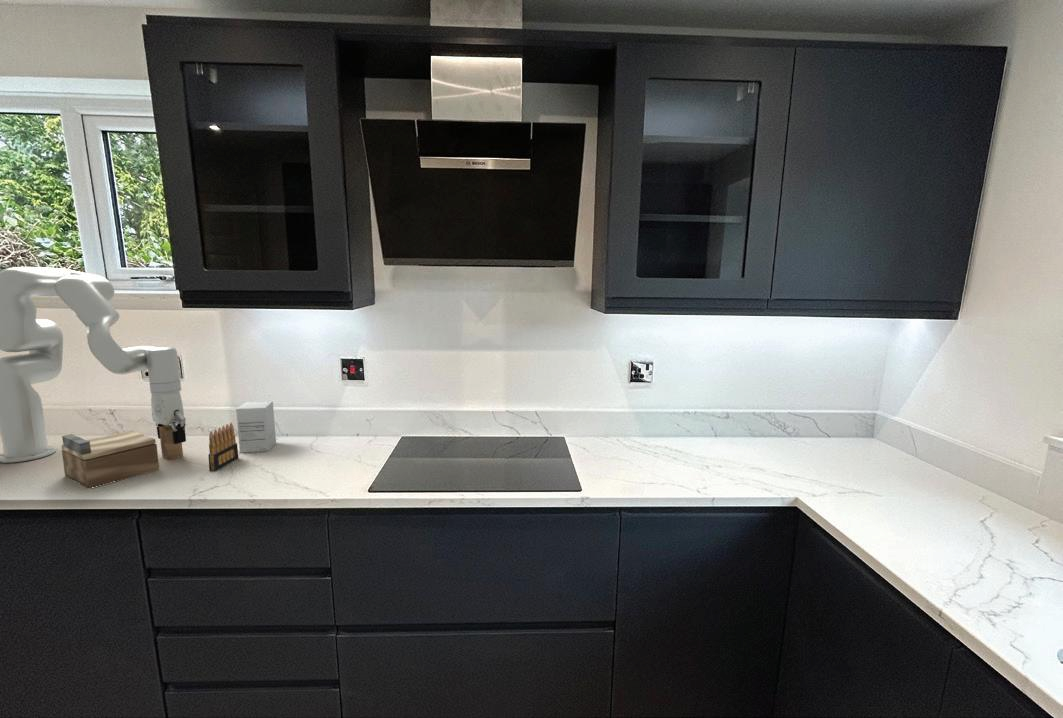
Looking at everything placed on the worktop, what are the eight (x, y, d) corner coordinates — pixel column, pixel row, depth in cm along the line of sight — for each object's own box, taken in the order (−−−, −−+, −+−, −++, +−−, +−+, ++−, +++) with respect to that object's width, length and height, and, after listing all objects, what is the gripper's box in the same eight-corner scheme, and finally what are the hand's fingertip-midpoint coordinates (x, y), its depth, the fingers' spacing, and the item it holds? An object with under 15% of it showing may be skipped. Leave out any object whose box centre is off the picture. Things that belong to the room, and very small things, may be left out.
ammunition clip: (233, 458, 149) (230, 421, 147) (238, 458, 149) (235, 421, 147) (209, 471, 139) (205, 432, 137) (215, 471, 139) (211, 432, 137)
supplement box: (247, 444, 162) (244, 401, 160) (276, 442, 164) (273, 400, 162) (238, 453, 153) (235, 408, 151) (269, 451, 156) (265, 407, 153)
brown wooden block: (162, 457, 148) (159, 427, 147) (176, 453, 152) (173, 423, 150) (168, 460, 147) (165, 429, 145) (183, 456, 150) (180, 425, 148)
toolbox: (65, 476, 133) (61, 450, 132) (134, 458, 147) (131, 435, 146) (89, 489, 126) (85, 461, 124) (159, 469, 139) (156, 444, 138)
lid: (61, 449, 132) (59, 435, 131) (131, 434, 146) (130, 421, 145) (84, 460, 125) (82, 444, 124) (155, 443, 138) (154, 429, 138)
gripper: (137, 386, 147) (144, 439, 149) (165, 392, 138) (172, 448, 141) (165, 381, 153) (171, 432, 156) (193, 387, 145) (199, 441, 147)
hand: (172, 440), depth 148 cm, fingers open, 9 cm apart
